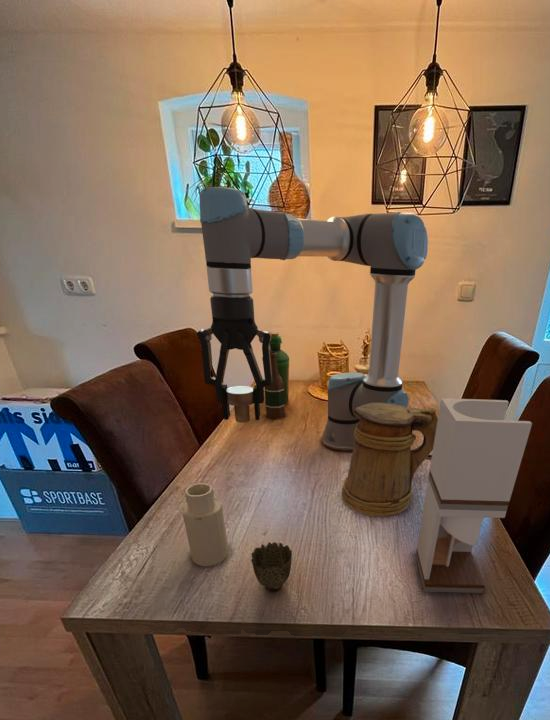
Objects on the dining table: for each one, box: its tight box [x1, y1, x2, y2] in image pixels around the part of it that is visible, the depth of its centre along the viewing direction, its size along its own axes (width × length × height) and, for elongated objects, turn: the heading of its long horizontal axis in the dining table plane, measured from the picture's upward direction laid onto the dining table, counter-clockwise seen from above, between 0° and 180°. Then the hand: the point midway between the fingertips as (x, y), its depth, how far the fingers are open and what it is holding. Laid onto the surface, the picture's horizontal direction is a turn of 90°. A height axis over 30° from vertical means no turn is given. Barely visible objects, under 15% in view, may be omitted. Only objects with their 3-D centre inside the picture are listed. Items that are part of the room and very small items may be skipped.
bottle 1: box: [181, 482, 229, 567], centre depth 79 cm, size 7×7×16 cm
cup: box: [251, 541, 293, 593], centre depth 74 cm, size 8×7×8 cm
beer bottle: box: [264, 352, 286, 420], centre depth 148 cm, size 8×8×24 cm
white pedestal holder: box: [415, 397, 533, 594], centre depth 72 cm, size 11×11×35 cm
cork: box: [226, 385, 254, 424], centre depth 81 cm, size 6×6×6 cm
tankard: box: [340, 403, 438, 517], centre depth 99 cm, size 18×24×25 cm
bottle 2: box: [261, 332, 290, 405], centre depth 160 cm, size 11×11×28 cm
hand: (242, 417), depth 82 cm, fingers closed on cork, 6 cm apart
